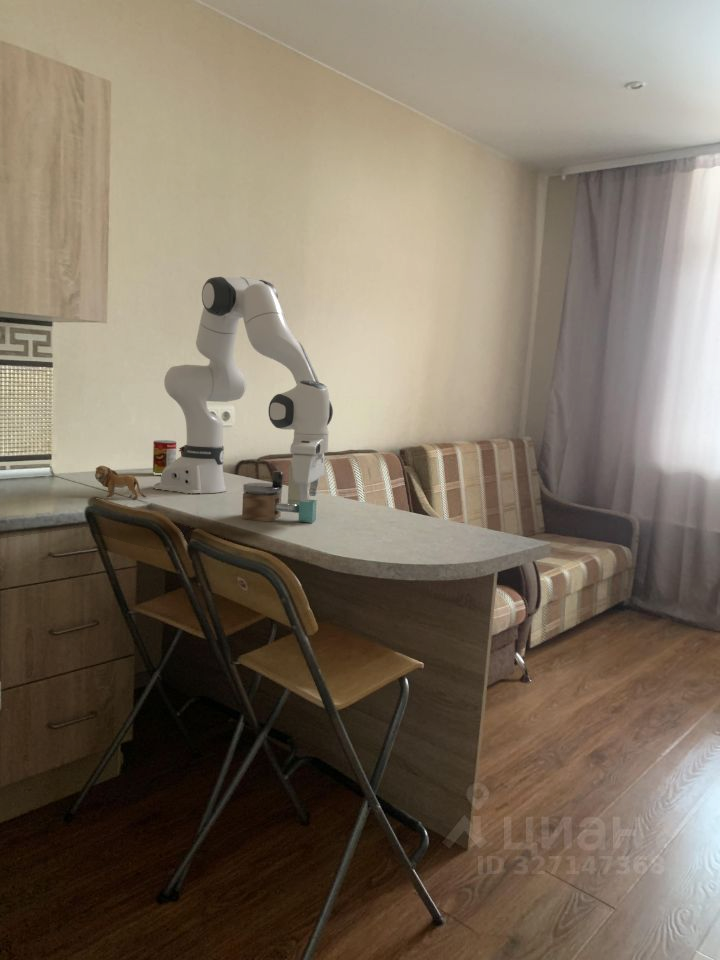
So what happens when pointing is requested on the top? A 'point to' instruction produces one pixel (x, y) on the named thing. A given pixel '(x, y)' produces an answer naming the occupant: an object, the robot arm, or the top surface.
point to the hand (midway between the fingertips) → (308, 498)
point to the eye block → (260, 507)
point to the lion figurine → (116, 481)
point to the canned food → (163, 454)
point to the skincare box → (293, 489)
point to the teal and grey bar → (300, 509)
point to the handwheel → (266, 486)
